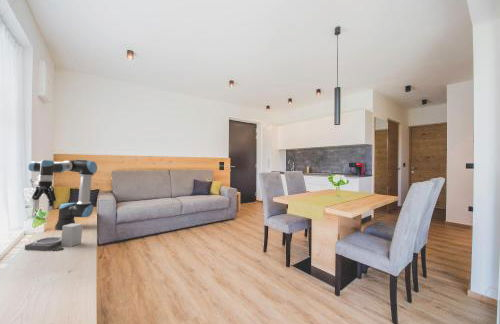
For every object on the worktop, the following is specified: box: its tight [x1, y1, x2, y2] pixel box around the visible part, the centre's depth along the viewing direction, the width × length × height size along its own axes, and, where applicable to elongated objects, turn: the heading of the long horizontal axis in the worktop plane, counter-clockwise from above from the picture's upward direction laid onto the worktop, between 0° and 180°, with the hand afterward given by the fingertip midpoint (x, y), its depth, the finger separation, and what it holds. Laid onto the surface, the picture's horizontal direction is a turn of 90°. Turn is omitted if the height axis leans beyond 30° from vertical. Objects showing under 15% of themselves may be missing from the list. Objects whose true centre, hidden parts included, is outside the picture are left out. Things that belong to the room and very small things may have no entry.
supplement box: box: [60, 222, 84, 247], centre depth 169 cm, size 9×9×15 cm
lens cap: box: [52, 247, 65, 252], centre depth 158 cm, size 6×6×1 cm
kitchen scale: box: [24, 236, 62, 251], centre depth 164 cm, size 19×16×4 cm
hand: (42, 209), depth 163 cm, fingers open, 13 cm apart
